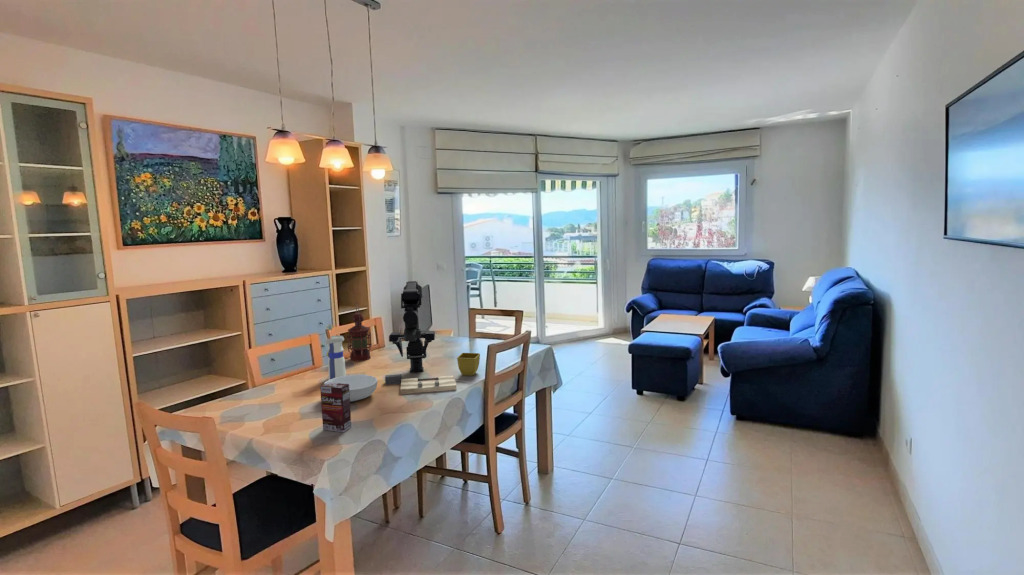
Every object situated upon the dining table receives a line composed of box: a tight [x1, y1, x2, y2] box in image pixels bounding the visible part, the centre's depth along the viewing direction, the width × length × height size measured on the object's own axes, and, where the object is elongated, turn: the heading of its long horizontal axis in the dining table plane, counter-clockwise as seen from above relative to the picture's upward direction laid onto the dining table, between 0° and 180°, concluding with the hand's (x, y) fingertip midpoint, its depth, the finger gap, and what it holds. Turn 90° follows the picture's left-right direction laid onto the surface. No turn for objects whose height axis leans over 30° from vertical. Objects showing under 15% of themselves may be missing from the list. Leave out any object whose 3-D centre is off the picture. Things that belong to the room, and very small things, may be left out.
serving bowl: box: [323, 374, 378, 403], centre depth 209 cm, size 21×21×7 cm
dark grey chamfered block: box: [384, 373, 403, 386], centre depth 228 cm, size 3×7×4 cm, turn 100°
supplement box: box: [319, 382, 352, 433], centre depth 177 cm, size 9×5×16 cm, turn 75°
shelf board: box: [400, 375, 457, 395], centre depth 222 cm, size 14×23×4 cm, turn 100°
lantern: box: [346, 301, 373, 362], centre depth 268 cm, size 12×12×30 cm
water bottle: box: [325, 323, 347, 380], centre depth 234 cm, size 8×8×25 cm
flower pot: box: [456, 352, 481, 376], centre depth 238 cm, size 9×9×9 cm
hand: (413, 356), depth 218 cm, fingers open, 9 cm apart
